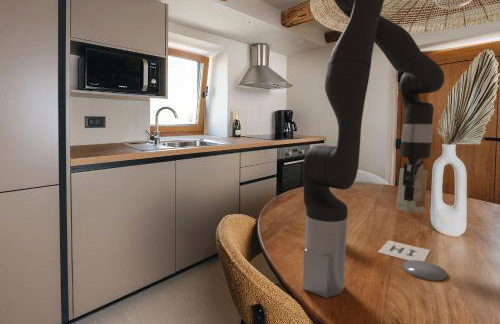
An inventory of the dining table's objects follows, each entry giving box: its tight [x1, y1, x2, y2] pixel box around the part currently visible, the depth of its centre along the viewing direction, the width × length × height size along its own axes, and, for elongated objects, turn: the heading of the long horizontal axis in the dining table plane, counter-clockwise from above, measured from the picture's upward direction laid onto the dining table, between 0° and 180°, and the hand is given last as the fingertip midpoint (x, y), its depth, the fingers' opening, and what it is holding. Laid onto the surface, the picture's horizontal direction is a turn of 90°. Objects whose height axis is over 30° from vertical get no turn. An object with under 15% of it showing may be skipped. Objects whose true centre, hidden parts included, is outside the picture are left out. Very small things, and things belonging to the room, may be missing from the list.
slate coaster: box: [402, 260, 448, 282], centre depth 78 cm, size 10×10×1 cm
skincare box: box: [396, 167, 429, 214], centre depth 84 cm, size 6×4×12 cm
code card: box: [377, 239, 431, 262], centre depth 90 cm, size 12×12×1 cm
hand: (411, 197), depth 85 cm, fingers closed on skincare box, 7 cm apart
